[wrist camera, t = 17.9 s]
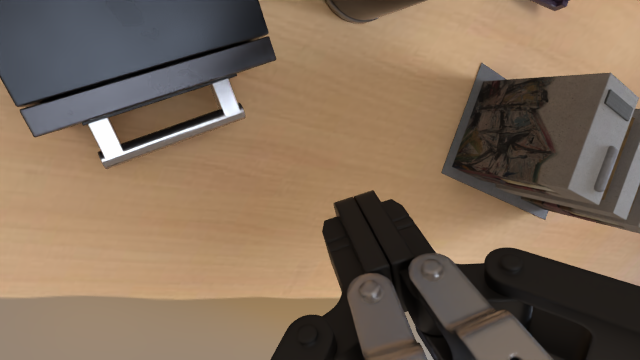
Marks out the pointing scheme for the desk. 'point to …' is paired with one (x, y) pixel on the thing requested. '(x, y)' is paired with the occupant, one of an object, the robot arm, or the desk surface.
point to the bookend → (553, 146)
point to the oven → (111, 40)
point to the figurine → (552, 3)
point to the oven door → (147, 90)
